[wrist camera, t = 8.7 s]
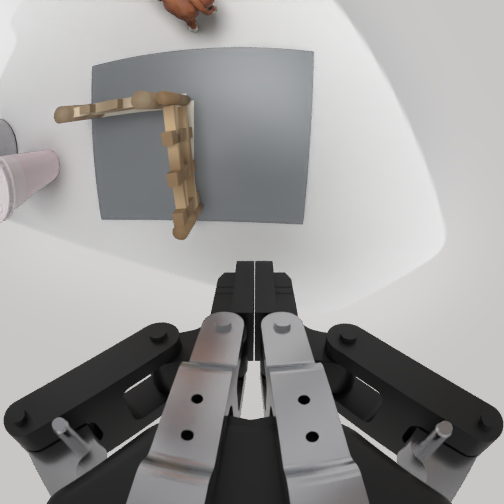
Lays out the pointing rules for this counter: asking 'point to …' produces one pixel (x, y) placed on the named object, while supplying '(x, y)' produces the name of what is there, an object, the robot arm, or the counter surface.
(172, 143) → the fence panel
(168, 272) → the counter surface
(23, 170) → the smoothie
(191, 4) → the bull figurine
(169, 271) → the counter surface
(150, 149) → the card
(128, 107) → the fixed fence
